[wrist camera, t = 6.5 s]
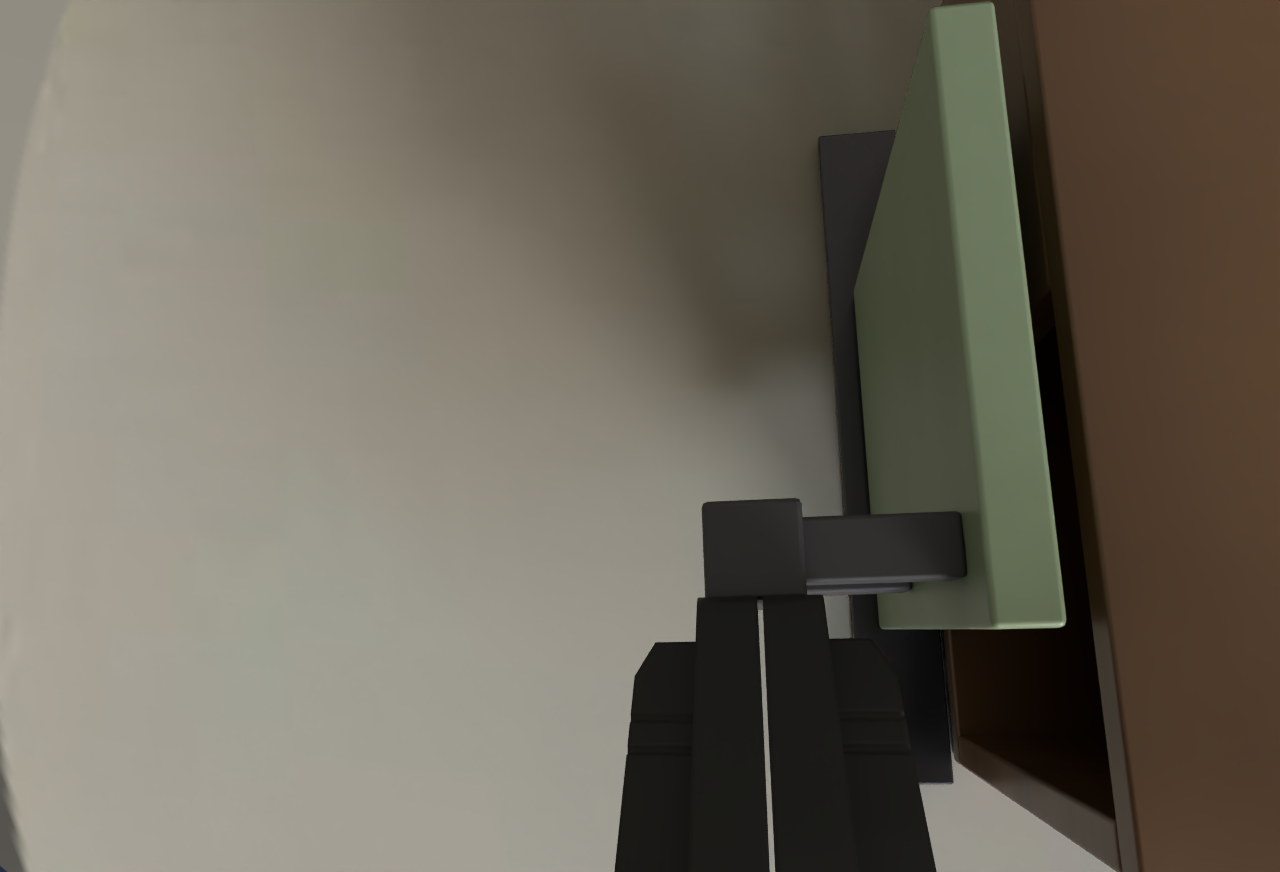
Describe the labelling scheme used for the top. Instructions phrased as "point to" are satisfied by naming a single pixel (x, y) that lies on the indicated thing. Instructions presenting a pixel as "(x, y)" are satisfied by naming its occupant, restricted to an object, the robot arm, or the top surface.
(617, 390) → the top surface
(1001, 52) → the cabinet
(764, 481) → the top surface
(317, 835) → the top surface
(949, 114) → the sliding door
